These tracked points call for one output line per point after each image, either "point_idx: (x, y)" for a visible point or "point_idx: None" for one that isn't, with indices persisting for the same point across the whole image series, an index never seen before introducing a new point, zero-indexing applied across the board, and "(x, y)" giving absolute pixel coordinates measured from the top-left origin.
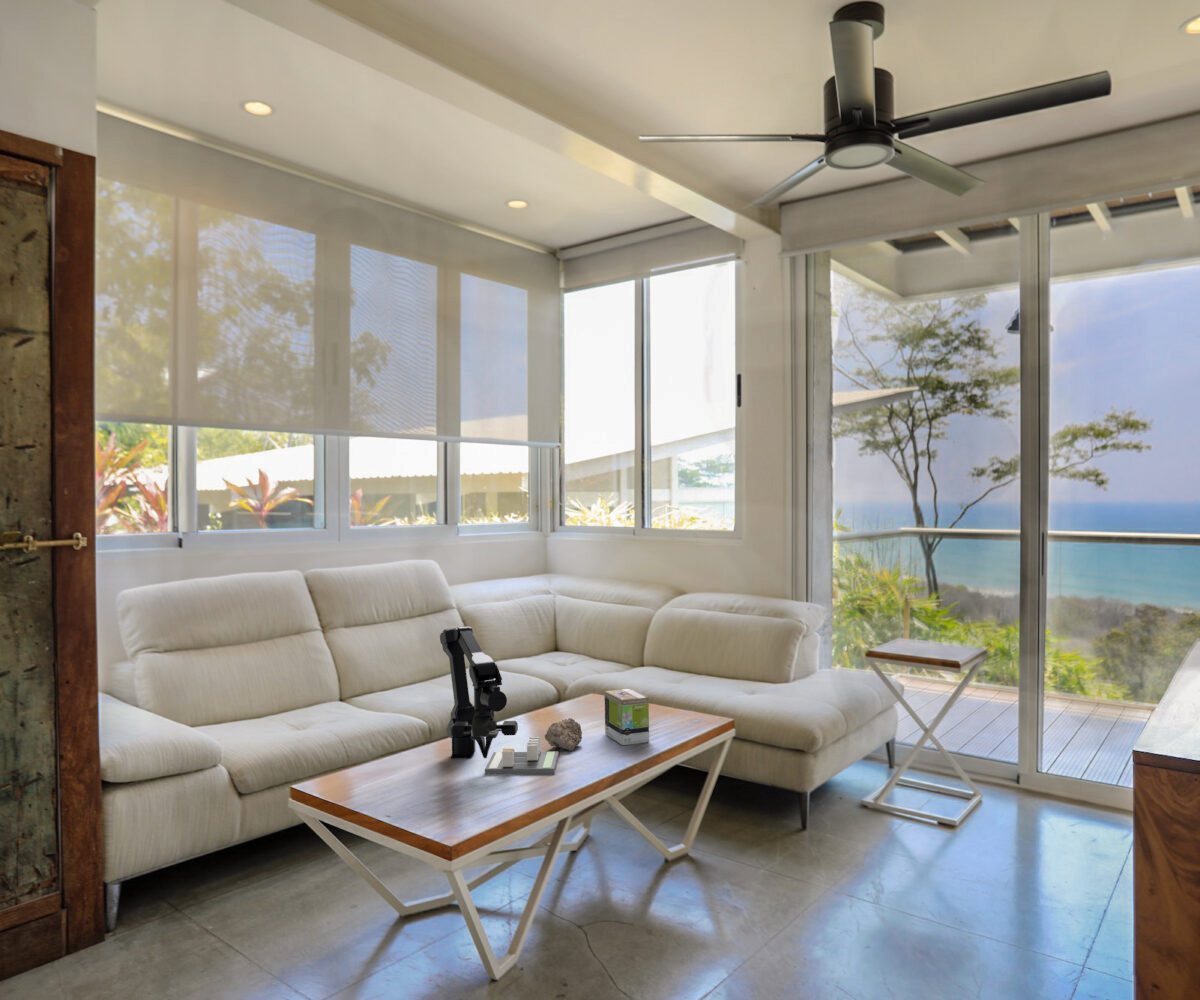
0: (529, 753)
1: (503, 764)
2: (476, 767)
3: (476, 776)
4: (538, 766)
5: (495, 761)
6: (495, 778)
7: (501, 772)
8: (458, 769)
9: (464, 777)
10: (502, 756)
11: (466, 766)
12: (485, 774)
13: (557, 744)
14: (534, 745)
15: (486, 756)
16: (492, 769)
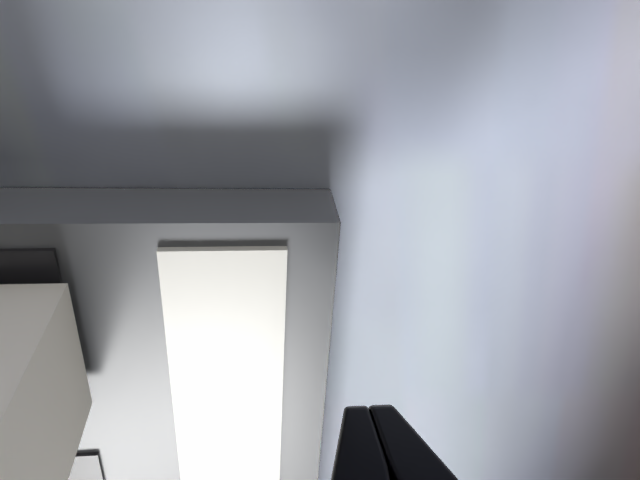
0: None
1: (39, 306)
2: (441, 400)
3: (439, 125)
4: None
5: (236, 465)
6: (139, 15)
7: (87, 201)
8: (624, 350)
9: (599, 94)
10: (2, 409)
11: (537, 420)
12: (322, 189)
13: None
14: None
15: (346, 426)
16: (220, 219)
